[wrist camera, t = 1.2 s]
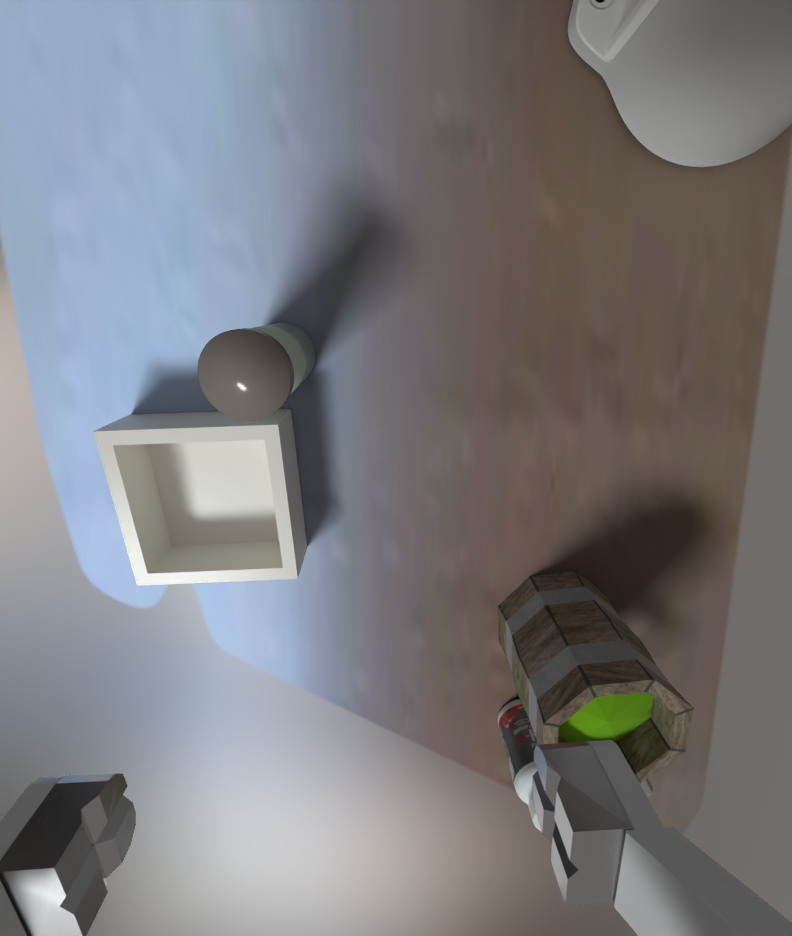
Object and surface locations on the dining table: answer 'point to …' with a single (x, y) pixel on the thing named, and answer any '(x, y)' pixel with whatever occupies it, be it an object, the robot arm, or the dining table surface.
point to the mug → (589, 674)
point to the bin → (206, 496)
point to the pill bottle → (519, 751)
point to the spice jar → (255, 369)
